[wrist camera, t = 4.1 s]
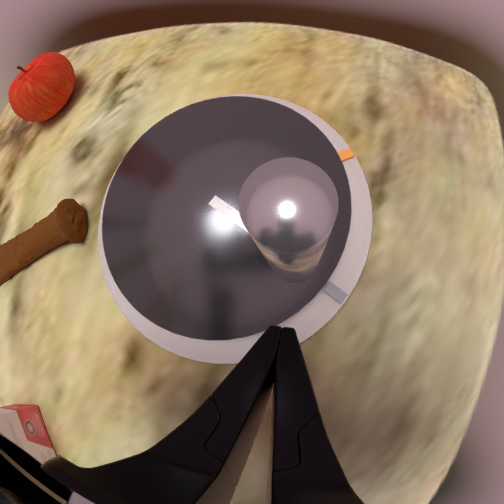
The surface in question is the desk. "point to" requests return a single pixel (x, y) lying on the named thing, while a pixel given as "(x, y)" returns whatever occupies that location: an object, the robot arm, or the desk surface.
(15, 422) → the ink cartridge box
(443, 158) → the desk surface
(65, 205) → the primitive tool
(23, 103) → the apple
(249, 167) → the dial
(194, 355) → the dial base
